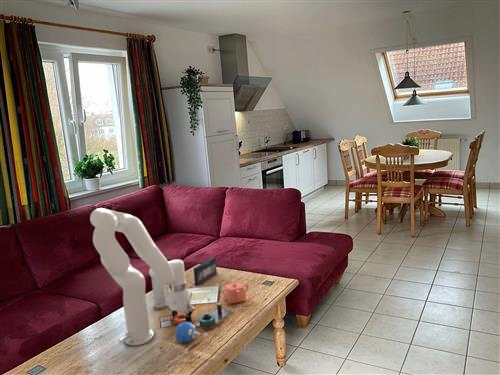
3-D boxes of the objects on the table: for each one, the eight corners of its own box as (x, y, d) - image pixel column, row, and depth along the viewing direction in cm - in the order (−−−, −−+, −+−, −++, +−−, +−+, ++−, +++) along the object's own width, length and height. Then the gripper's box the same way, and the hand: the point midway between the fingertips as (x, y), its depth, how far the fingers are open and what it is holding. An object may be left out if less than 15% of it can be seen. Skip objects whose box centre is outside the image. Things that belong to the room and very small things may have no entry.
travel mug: (159, 311, 210) (154, 273, 207) (152, 307, 215) (148, 270, 212) (170, 306, 215) (165, 269, 211) (163, 302, 219) (159, 266, 216)
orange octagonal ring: (183, 326, 193) (182, 321, 193) (171, 323, 197) (170, 318, 197) (193, 319, 199) (192, 314, 199) (181, 316, 203) (180, 312, 203)
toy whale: (196, 351, 173) (194, 332, 171) (170, 347, 177) (168, 329, 175) (208, 336, 184) (207, 318, 182) (184, 332, 188) (182, 315, 186)
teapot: (231, 294, 223) (230, 277, 222) (251, 298, 217) (249, 280, 216) (219, 304, 213) (217, 286, 212) (239, 308, 208) (238, 289, 206)
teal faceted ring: (208, 327, 189) (208, 322, 188) (196, 324, 192) (195, 319, 192) (218, 320, 195) (217, 315, 194) (205, 317, 198) (205, 312, 198)
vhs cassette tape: (198, 285, 238) (196, 268, 237) (194, 284, 240) (192, 267, 238) (217, 273, 253) (216, 258, 252) (213, 273, 255) (212, 257, 253)
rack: (209, 330, 188) (208, 319, 187) (195, 326, 192) (194, 315, 191) (231, 312, 203) (230, 302, 202) (218, 309, 207) (217, 299, 206)
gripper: (158, 286, 196) (162, 321, 199) (187, 292, 187) (191, 329, 190) (169, 280, 202) (173, 314, 206) (197, 286, 193) (201, 321, 197)
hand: (182, 321), depth 198 cm, fingers open, 7 cm apart
